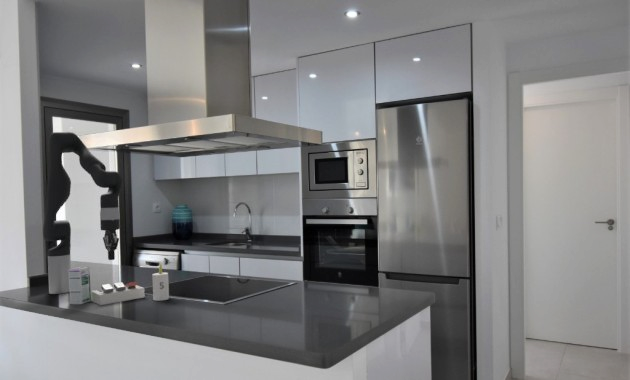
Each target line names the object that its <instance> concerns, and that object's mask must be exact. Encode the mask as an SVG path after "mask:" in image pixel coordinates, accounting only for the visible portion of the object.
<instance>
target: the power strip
mask: <svg viewBox="0 0 630 380" xmlns="http://www.w3.org/2000/svg"><path fill="white" fill-rule="evenodd" d="M113 288H114V289H113V292H108V293H105V292H104V291H103V290H102V288H101V289H97V290H91V301H90V302H93V303H96V304H97V305H100V306H102V305H110V304H114V303H120V302H125V301H131V300H135V299H136V300H137V299H143V298H145V294H146V293H153V288H150V289H149V288H148V289H145V287H142V286H140V285H136V286H132V287H127V288H126V290H121V291H117V289H116V288H115V287H114V286H113Z"/></svg>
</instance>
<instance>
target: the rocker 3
mask: <svg viewBox="0 0 630 380" xmlns="http://www.w3.org/2000/svg"><path fill="white" fill-rule="evenodd" d="M136 285H137V286H139V285H138V281H133V282H128V283H126V284H125V286H126V288H127V287H132V286H136Z"/></svg>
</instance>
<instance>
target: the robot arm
mask: <svg viewBox="0 0 630 380" xmlns="http://www.w3.org/2000/svg"><path fill="white" fill-rule="evenodd" d="M65 153H66V154H69V153H73V154H76V155H77V156H78V160H79V165H80V166H81V168H82V169H83V170H84V171H85V172H86V173H87V174H88V175H89V176H91V179H92V181H93V182H94V184H95V185H96V186H97V187H98V188H103V189H106V188H107V189H108V190H107V192H105V193H102V194H101V195H100V196H99V197H100V199H99V200H100V202H99V205H100V209H99V210H100V211H99V216H100V217H99V218H100V219H99V220H100V231H104V236H103V237H102V240H103V244H104V247H105V249H106V251H107V259H108V260H109V261H114V260H115V257H116V255H115V251H116V250H117V249H118V245H119V241H120V238H119V237H118V234H117V230H120V229H121V221H120V220H121V217H120V216H121V215H120V205H119V203H120V202H119V196H120V193H121V188H122V185H123V178H122V175H121V173H120V172H118V171H117V170H112V171H111V170H107V168H106V166H105V165H106V164H104V163H103V162H102V161H101V160H100V159H99V158H97V157H96V156H95V155H94V154H93V153H92V152H91V151H90V150H89V149H88V147H87V146H86V144H85V143H84V142H83V141H82V140H81V138H80V137H79V136H78V135H77V134H76V133H74V132H73V131H72V132H71V131H55V132H52V133H51V134H50V136H49V138H48V177H47V178H48V179H47V188H46V206H45V207H46V208H45V215H44V220H43V226H42V227H43V228H42V236H43V240H45V241H46V242H55V241H56V242H57V241H60V242H59V244H58V245H56V246H54V247H52V248H49V249H48V250H47V266H48V268H47V269H48V294H50V295H58V294H59V295H60V294H61V295H62V294H65V293H66V294H67V293H70V290H69V269H72V267H71V266H72V263H71V262H72V261H71V260H72V259H71V258H72V257H71V236H72V235H71V232H72V230H71V229H72V228H71V224H70V222H69V220H65V219H64V220H55V219H56V216H57V214H58V212H59V210H61V208H62V207H63V206H64V204H65V203H66V202H67V201H68V199H69V197H70V196H71V187H72V181H71V178H70V176H69V174H68V173H67V171H66V169H65V167H64V165H63V154H65Z"/></svg>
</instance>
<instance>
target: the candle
mask: <svg viewBox="0 0 630 380" xmlns="http://www.w3.org/2000/svg"><path fill="white" fill-rule="evenodd" d="M162 266H163V265H162V264H161V262H159V265H158V268H159V269H158V272H156V273H152V275H151V276H152V289H153V292H152V299H153V301H166V300H169V299H170V289H169V287H170V286H169V284H170V283H169V272H163V267H162Z"/></svg>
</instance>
